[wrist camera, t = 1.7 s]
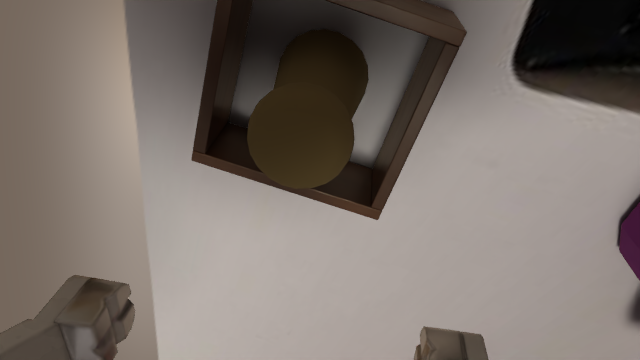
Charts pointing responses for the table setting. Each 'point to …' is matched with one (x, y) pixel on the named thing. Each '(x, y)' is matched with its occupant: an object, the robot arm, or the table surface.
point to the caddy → (354, 180)
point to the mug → (631, 240)
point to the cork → (309, 111)
